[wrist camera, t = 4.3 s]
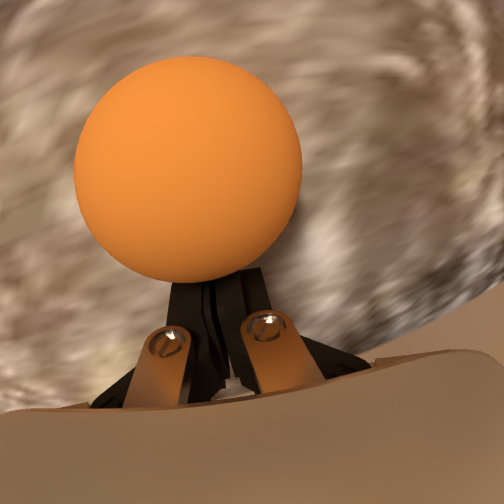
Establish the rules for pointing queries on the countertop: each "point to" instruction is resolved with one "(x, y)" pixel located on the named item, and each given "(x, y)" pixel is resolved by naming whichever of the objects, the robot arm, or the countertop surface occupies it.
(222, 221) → the ball
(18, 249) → the countertop surface
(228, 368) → the robot arm
